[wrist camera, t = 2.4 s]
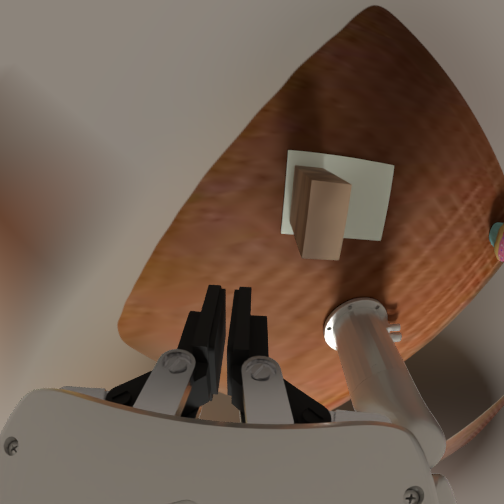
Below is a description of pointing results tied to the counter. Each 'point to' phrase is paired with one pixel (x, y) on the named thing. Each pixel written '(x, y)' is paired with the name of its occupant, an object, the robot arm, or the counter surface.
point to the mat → (362, 192)
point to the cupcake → (497, 240)
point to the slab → (319, 212)
